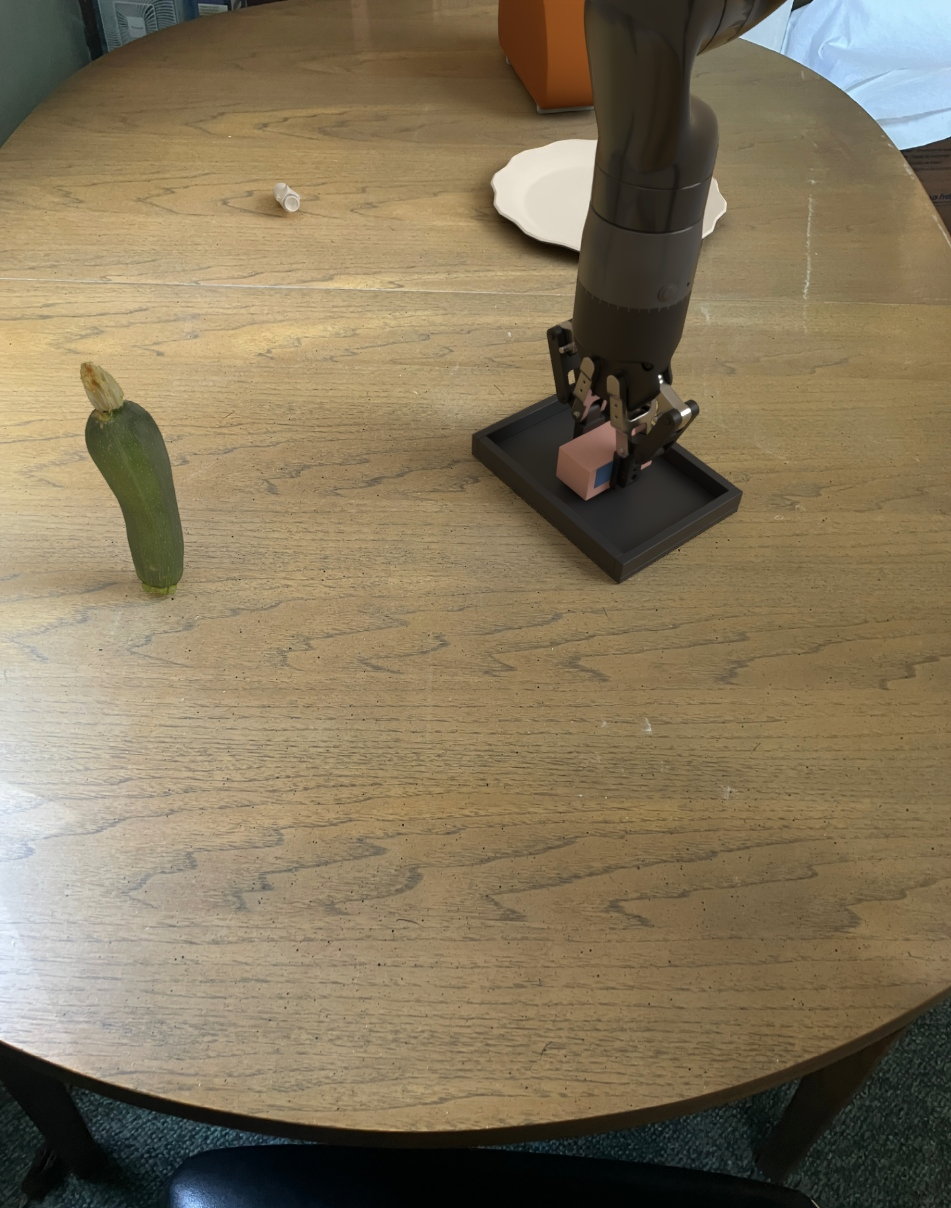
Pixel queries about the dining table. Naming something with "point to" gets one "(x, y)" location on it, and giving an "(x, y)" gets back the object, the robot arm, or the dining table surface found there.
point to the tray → (606, 491)
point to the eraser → (589, 461)
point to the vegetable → (136, 479)
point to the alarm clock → (548, 51)
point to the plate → (562, 193)
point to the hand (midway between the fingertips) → (603, 469)
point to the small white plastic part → (286, 197)
